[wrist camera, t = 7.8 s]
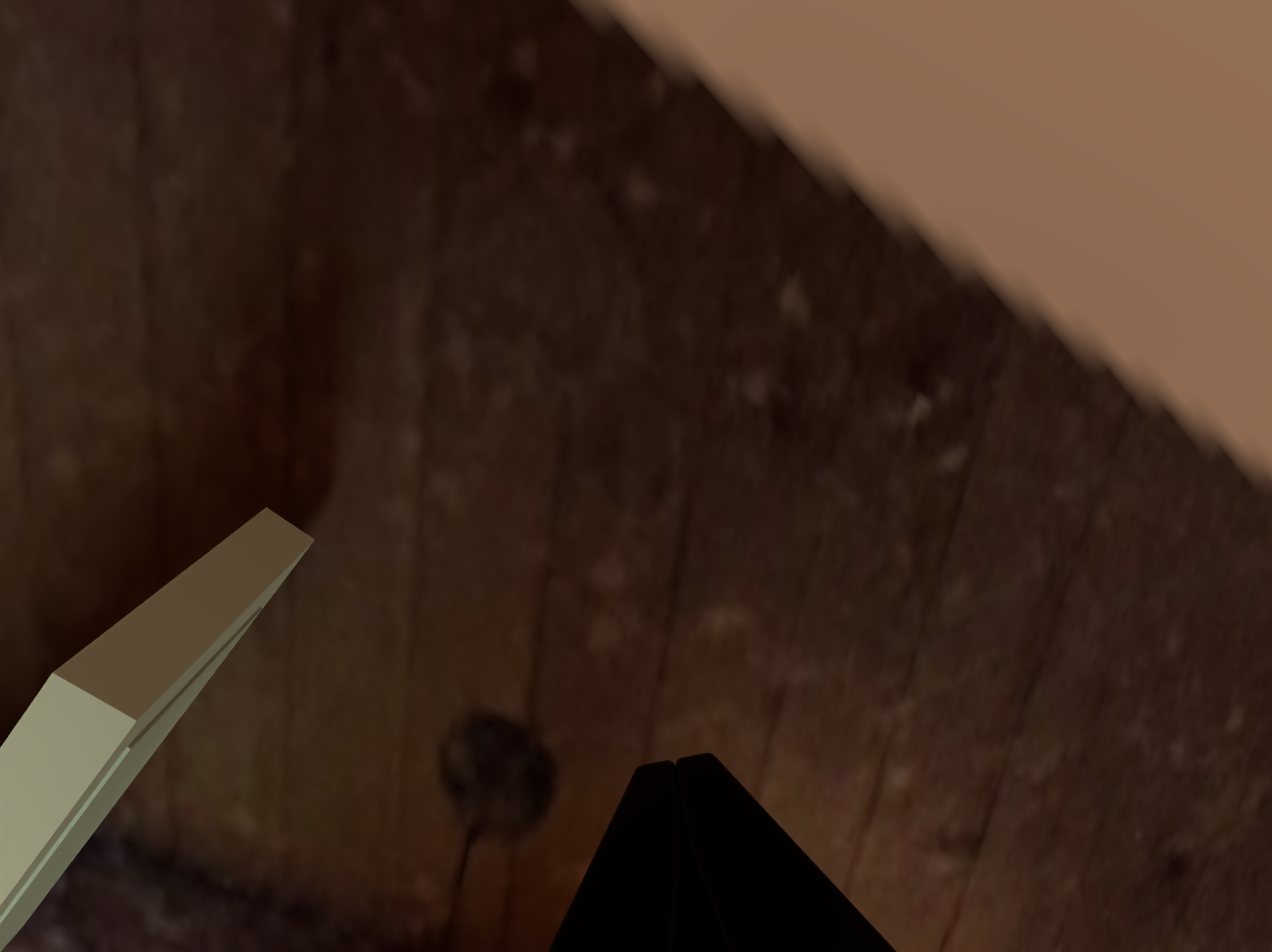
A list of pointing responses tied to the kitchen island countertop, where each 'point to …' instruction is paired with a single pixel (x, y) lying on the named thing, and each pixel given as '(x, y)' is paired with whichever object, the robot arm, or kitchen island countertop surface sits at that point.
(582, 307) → the kitchen island countertop surface
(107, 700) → the door
